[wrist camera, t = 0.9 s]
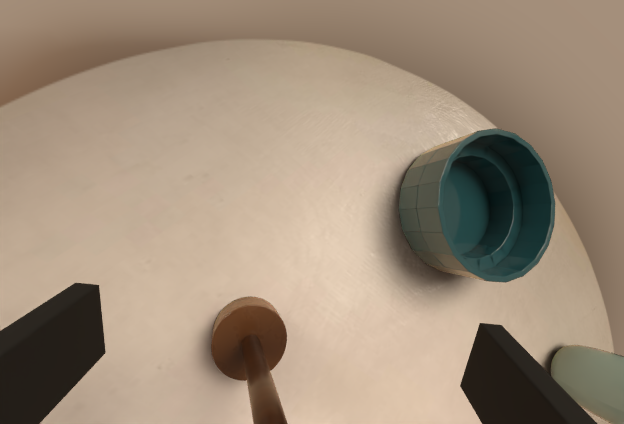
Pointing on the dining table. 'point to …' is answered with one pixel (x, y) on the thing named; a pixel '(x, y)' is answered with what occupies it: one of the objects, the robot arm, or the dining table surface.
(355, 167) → the dining table surface
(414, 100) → the dining table surface
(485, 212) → the bowl
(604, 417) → the cup
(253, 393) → the wooden peg stand
